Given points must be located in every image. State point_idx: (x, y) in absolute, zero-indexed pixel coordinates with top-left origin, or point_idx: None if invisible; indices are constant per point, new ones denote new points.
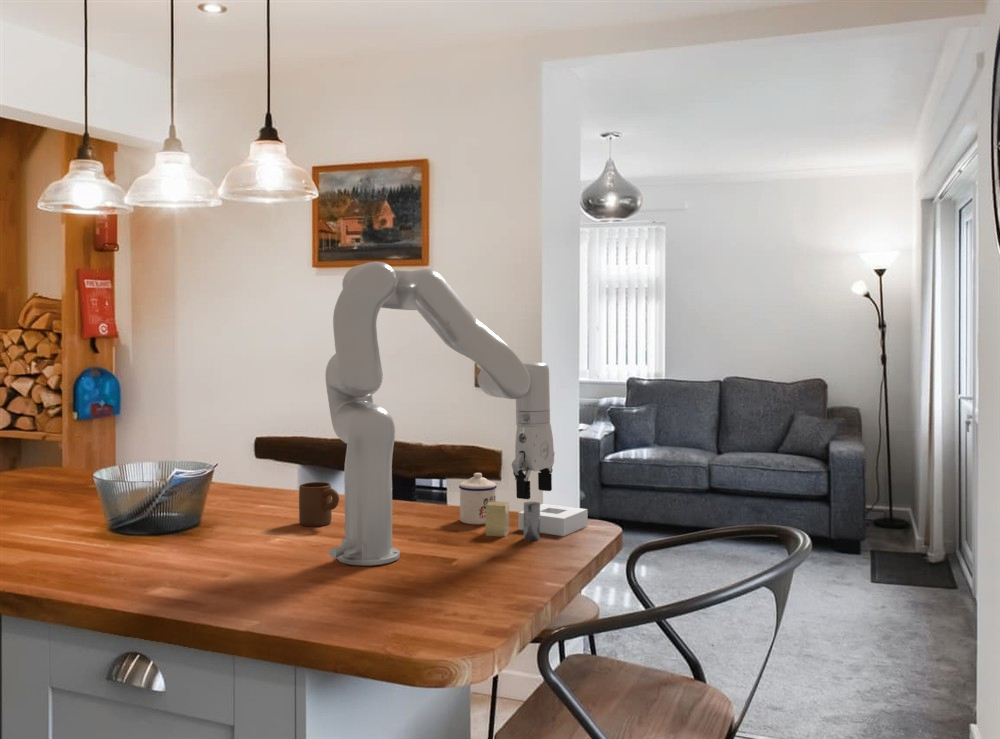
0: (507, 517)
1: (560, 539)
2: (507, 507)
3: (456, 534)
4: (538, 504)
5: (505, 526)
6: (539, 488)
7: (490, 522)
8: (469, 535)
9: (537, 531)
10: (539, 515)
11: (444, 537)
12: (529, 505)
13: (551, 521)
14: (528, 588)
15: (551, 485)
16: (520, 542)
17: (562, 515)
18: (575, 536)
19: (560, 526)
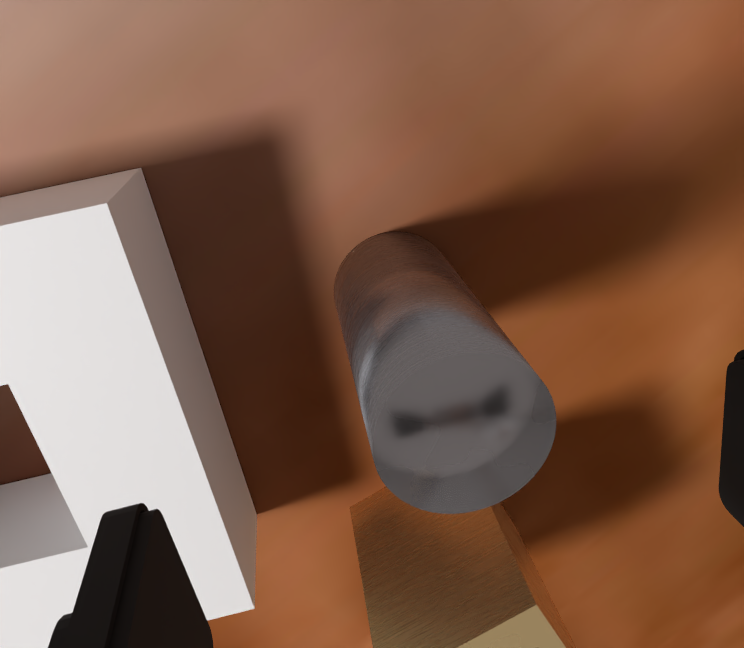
0: (416, 561)
1: (246, 118)
2: (437, 624)
3: (590, 624)
4: (463, 353)
5: None
6: (207, 642)
7: (533, 569)
8: (568, 575)
9: (412, 252)
10: (407, 307)
11: (676, 613)
12: (550, 395)
13: (164, 320)
14: None
15: (94, 563)
16: (524, 275)
17: (14, 310)
18: (61, 89)
19: (137, 222)
